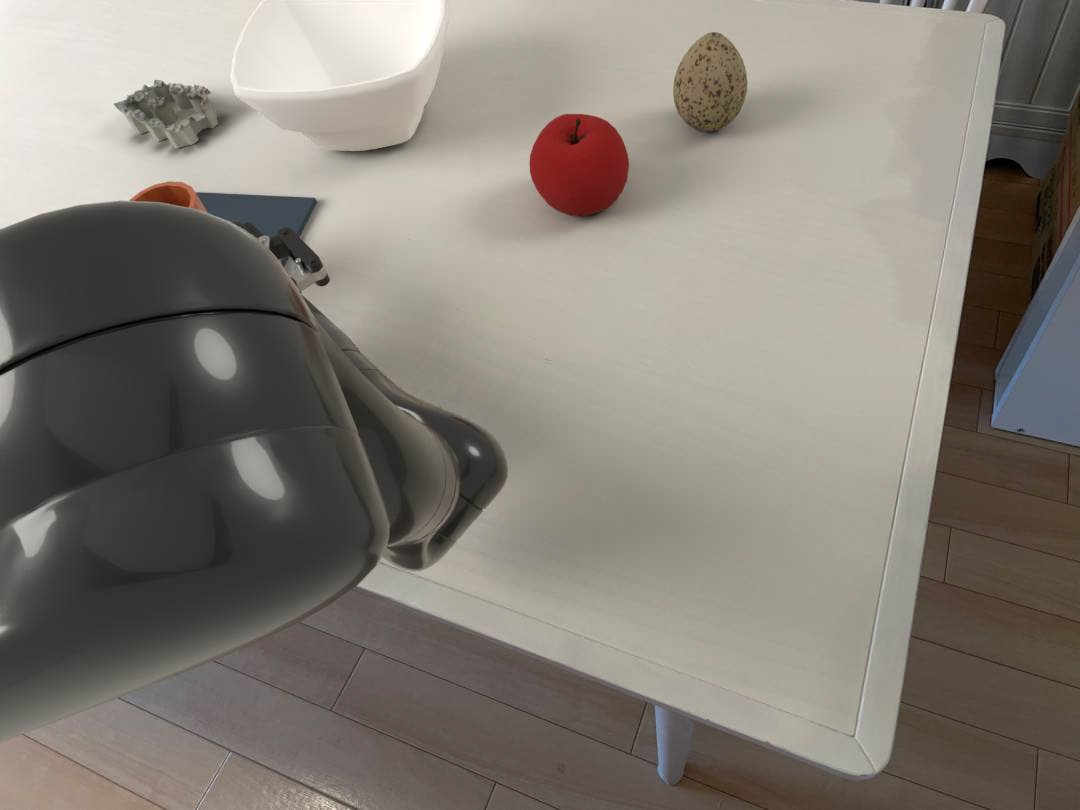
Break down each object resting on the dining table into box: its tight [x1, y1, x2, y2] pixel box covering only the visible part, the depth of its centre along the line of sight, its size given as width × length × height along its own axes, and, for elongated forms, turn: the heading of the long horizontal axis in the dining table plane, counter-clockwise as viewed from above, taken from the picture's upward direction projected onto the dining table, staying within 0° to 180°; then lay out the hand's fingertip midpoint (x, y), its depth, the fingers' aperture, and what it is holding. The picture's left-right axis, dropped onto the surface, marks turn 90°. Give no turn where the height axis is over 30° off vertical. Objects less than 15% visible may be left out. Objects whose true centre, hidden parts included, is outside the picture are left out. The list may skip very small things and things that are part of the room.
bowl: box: [229, 0, 451, 152], centre depth 84 cm, size 22×22×12 cm
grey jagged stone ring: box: [113, 79, 219, 149], centre depth 92 cm, size 11×8×4 cm
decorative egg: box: [672, 31, 748, 132], centre depth 77 cm, size 7×7×10 cm
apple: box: [529, 113, 630, 217], centre depth 74 cm, size 9×9×10 cm
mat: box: [195, 191, 318, 268], centre depth 79 cm, size 20×18×1 cm
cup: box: [128, 181, 209, 214], centre depth 71 cm, size 7×7×11 cm
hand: (196, 258), depth 67 cm, fingers open, 8 cm apart
